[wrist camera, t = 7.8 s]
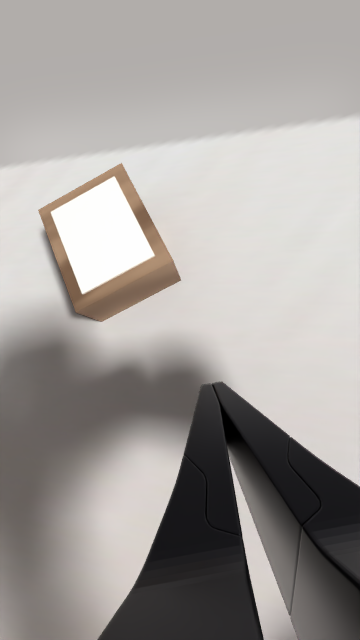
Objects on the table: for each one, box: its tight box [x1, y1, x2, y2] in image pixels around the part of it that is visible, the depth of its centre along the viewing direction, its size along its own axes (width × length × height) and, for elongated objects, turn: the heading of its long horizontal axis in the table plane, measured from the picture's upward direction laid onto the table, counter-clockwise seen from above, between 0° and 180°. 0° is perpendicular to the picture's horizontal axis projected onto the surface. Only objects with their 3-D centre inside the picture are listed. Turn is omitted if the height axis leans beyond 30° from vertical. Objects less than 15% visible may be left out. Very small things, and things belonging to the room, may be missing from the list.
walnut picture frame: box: [38, 163, 181, 322], centre depth 19 cm, size 4×8×10 cm
